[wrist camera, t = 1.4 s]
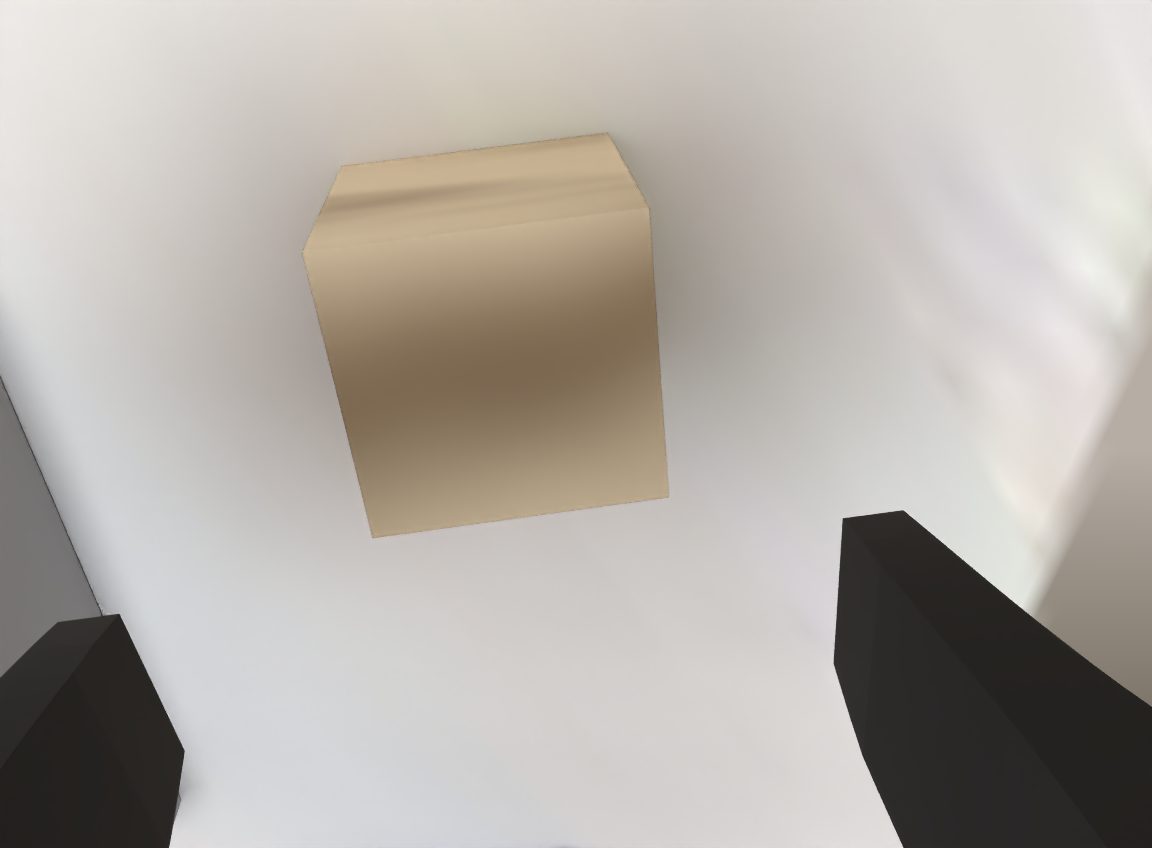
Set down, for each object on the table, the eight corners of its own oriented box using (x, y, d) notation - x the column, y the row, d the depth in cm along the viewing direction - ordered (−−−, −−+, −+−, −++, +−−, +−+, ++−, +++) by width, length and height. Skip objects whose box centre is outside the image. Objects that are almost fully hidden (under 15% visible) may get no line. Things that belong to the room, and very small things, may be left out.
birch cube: (627, 370, 21) (668, 497, 17) (392, 401, 21) (372, 538, 17) (606, 131, 19) (649, 207, 14) (342, 165, 18) (301, 251, 14)
